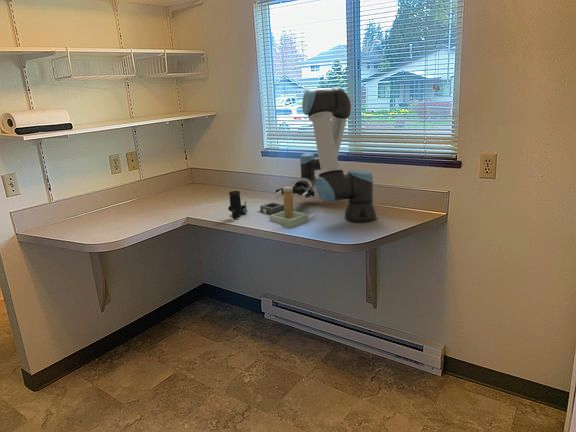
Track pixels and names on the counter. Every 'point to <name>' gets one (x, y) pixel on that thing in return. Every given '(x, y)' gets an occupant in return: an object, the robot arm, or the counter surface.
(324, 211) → the counter surface
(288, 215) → the cylinder
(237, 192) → the scope
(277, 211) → the socket block
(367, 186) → the robot arm
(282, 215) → the parts tray
